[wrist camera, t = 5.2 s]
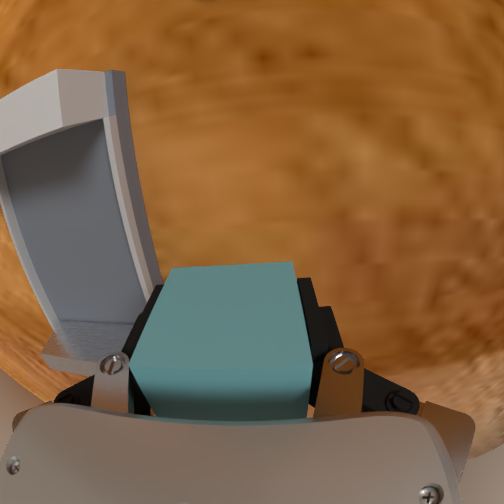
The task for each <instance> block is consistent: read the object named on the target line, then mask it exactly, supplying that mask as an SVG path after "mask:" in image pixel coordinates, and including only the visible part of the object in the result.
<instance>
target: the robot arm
mask: <svg viewBox="0 0 504 504" xmlns="http://www.w3.org/2000/svg"><path fill="white" fill-rule="evenodd" d="M163 286H164V284H160V285H156V286H155V288H154V290H153V292H152V294H151V296H150V298H149V300H148V302H147V304H146V306H145V308H144V310H143V312H142V313H140V314H139V315H138V317H137V319H136V321H135V323H134V325H133V327H132V329H131V332H130V334H129V336H128V338H127V340H126V342H125V344H124V346H123V349H122V351H121V352H110V353H108V354H106V355H104V356H103V357H101V358H100V360H99V361H98V362H97V365H96V371H95V374H94V375H92V376H90V377H89V378H87V379H85V380H83V381H81V382H79V383H77V384H75V385H73V386H71V387H69V388H67V389H66V390H64V391H62V392H61V393H59V394H58V395H57V396H56V398H55V400H54V403H52V401H48V402H46V403H43V404H41V405H38V406H35V407H33V408H31V409H28V410H25V411H22V412H20V413H18V414H17V415H16V416H15V417H14V419H13V423H12V428H13V434H12V436H11V438H10V440H9V442H8V444H7V447H6V449H5V452H4V454H3V456H2V459H1V462H0V504H463V501H462V496H461V492H460V488H459V482H460V479H461V476H462V473H463V470H464V467H465V464H466V461H467V458H468V455H469V451H470V448H471V444H472V440H473V437H474V433H475V423H474V420H473V419H472V418H471V417H470V416H469V415H467V414H465V413H462V412H459V411H455V410H452V409H449V408H446V407H443V406H440V405H437V404H434V403H431V402H428V401H426V403H422V402H419V400H418V397H417V396H416V395H415V394H414V393H413V392H411V391H410V390H408V389H406V388H404V387H402V386H399V385H397V384H395V383H393V382H391V381H389V380H387V379H385V378H383V377H381V376H379V375H377V374H375V373H373V372H371V371H369V370H367V369H365V368H364V359H363V358H362V356H361V355H360V354H359V353H358V352H357V351H355V350H353V349H349V348H344V346H343V343H342V340H341V337H340V333H339V330H338V327H337V324H336V321H335V318H334V314H333V311H332V309H331V307H330V306H325V307H319V306H318V303H317V299H316V295H315V292H314V288H313V285H312V281H311V278H310V277H309V278H297V286H298V290H299V295H300V300H301V305H302V310H303V315H304V320H305V325H306V330H307V335H308V341H309V346H310V351H311V356H312V362H313V369H312V378H311V387H310V395H309V402H308V403H309V404H310V405H311V406H313V407H315V410H314V415H313V418H302V419H289V420H271V421H206V420H188V419H175V418H164V417H155V415H154V412H153V410H152V408H151V406H150V405H149V403H148V401H147V399H146V398H145V396H144V394H143V392H142V390H141V389H140V387H139V385H138V383H137V381H136V379H135V377H134V375H133V373H132V371H131V369H130V367H129V362H130V360H131V357H132V355H133V353H134V350H135V348H136V346H137V343H138V341H139V339H140V336H141V334H142V332H143V330H144V327H145V325H146V323H147V321H148V318H149V316H150V314H151V312H152V310H153V307H154V305H155V303H156V301H157V299H158V297H159V294H160V292H161V290H162V288H163Z"/></svg>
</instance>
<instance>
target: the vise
mask: <svg viewBox="0 0 504 504" xmlns="http://www.w3.org/2000/svg"><path fill="white" fill-rule="evenodd" d="M0 203H1V207H2V210H3V214H4V217H5V220H6V223H7V226H8V229H9V232H10V235H11V238H12V241H13V244H14V246H15V249H16V252H17V254H18V257H19V259H20V262H21V264H22V267H23V269H24V271H25V274H26V276H27V278H28V281H29V283H30V285H31V287H32V289H33V291H34V294H35V296H36V298H37V300H38V302H39V304H40V306H41V308H42V310H43V312H44V314H45V316H46V317H47V319H48V321H49V323H50V325H51V327H52V328H53V330H54V331H55V329H56V328H57V326H58V325H59V323H60V322H61V320H62V321H74V322H88V323H105V324H128V325H134V323H135V321H136V319H137V317H138V315H139V314H140V313H142V312H143V310H144V308H145V306H146V304H147V302H148V300H149V298H150V296H151V294H152V292H153V290H154V288H155V286H156V285H160V284H163V281H162V278H161V274H160V270H159V266H158V262H157V258H156V254H155V250H154V246H153V242H152V238H151V234H150V229H149V225H148V220H147V216H146V211H145V206H144V201H143V196H142V191H141V186H140V181H139V175H138V170H137V164H136V158H135V152H134V145H133V139H132V132H131V125H130V117H129V109H128V100H127V91H126V80H125V72H122V71H115V70H110V71H107V72H98V71H86V70H70V69H56V70H54V71H52V72H50V73H47V74H45V75H43V76H41V77H39V78H37V79H35V80H33V81H31V82H30V83H28V84H26V85H24V86H22V87H20V88H19V89H17V90H15V91H13V92H12V93H10V94H8V95H7V96H5V97H3V98H2V99H0Z"/></svg>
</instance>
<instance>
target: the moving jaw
mask: <svg viewBox="0 0 504 504" xmlns="http://www.w3.org/2000/svg"><path fill="white" fill-rule="evenodd" d="M132 327H133V325H128V324H105V323H88V322H74V321H62V320H61V322H60V323H59V325H58V326H57V328H56V329H55V331H54V332H53V334H52V335H51V337H50V338H49V340H48V342H47V343H46V345H45V346H44V348H43V349H42V351H41V353H40V354H41V355H42V357H43V358H44V360H45V361H46V363H47V364H48V366H49V367H50V368H51V369H55V370H59V371H64V372H69V373H75V374H80V375H86V376H92V375H94V374H95V371H96V365H97V362H98V361H99V360H100V358H101V357H103V356H104V355H106V354H108V353H110V352H121V351H122V349H123V346H124V344H125V342H126V340H127V338H128V336H129V334H130V332H131V329H132Z"/></svg>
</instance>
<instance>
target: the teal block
mask: <svg viewBox="0 0 504 504" xmlns="http://www.w3.org/2000/svg"><path fill="white" fill-rule="evenodd" d="M129 367H130V369H131V371H132V373H133V375H134V377H135V379H136V381H137V383H138V385H139V387H140V389H141V390H142V392H143V394H144V396H145V398H146V399H147V401H148V403H149V405H150V406H151V408H152V410H153V412H154V413H155V415H156V417H164V418H175V419H188V420H206V421H271V420H289V419H302V418H306V417H307V410H308V402H309V395H310V387H311V378H312V369H313V362H312V356H311V351H310V346H309V341H308V335H307V330H306V325H305V320H304V315H303V310H302V305H301V300H300V295H299V290H298V286H297V281H296V276H295V271H294V267H293V262H276V263H258V264H239V265H220V266H201V267H180V268H172V269H171V271H170V274H169V276H168V278H167V280H166V282H165V284H164V286H163V288H162V290H161V292H160V294H159V297H158V299H157V301H156V303H155V305H154V307H153V310H152V312H151V314H150V316H149V318H148V321H147V323H146V325H145V327H144V330H143V332H142V334H141V336H140V339H139V341H138V343H137V346H136V348H135V350H134V353H133V355H132V357H131V360H130V362H129Z"/></svg>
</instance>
